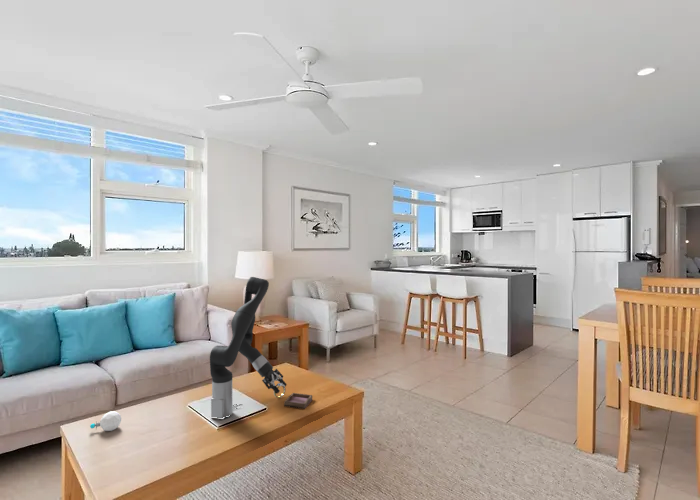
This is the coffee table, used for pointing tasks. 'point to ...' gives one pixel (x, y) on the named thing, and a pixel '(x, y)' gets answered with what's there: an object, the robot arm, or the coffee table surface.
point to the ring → (283, 390)
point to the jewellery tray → (298, 400)
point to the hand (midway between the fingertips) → (282, 389)
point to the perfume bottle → (108, 421)
